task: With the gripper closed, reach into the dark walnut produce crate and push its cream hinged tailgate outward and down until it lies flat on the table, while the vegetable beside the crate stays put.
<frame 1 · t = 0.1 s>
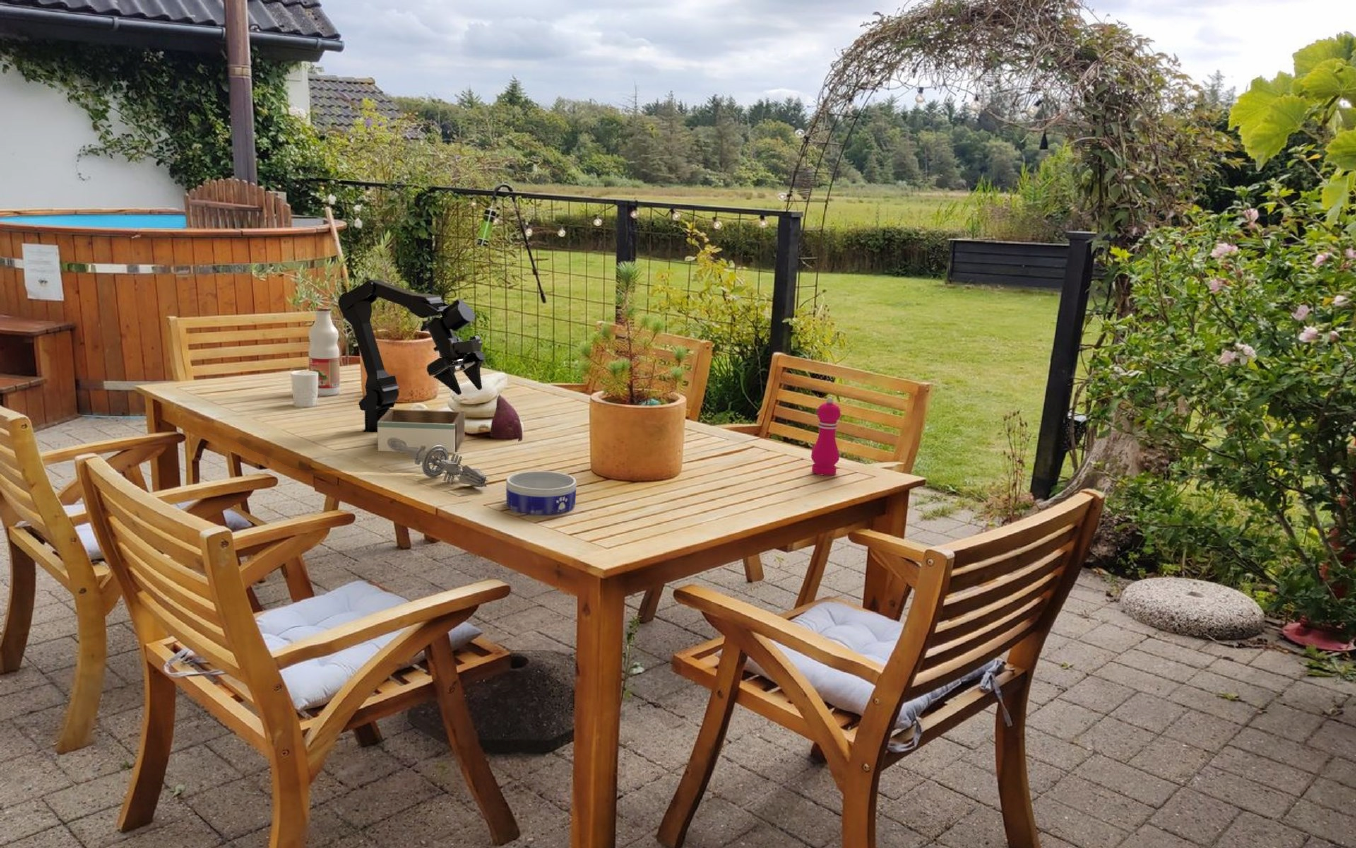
hand: (470, 391, 272), 15 cm above the table, fingers open, 9 cm apart
fruit juice: (325, 393, 334), on the table
tailgate: (416, 437, 263), point 4 cm above the table, hinge at 0.0°
crate: (422, 445, 273), on the table
white cup: (305, 405, 315), on the table
pepper mill: (823, 473, 267), on the table
spaceship: (434, 478, 245), on the table
vegetable: (506, 439, 287), on the table
dog bowl: (541, 506, 227), on the table
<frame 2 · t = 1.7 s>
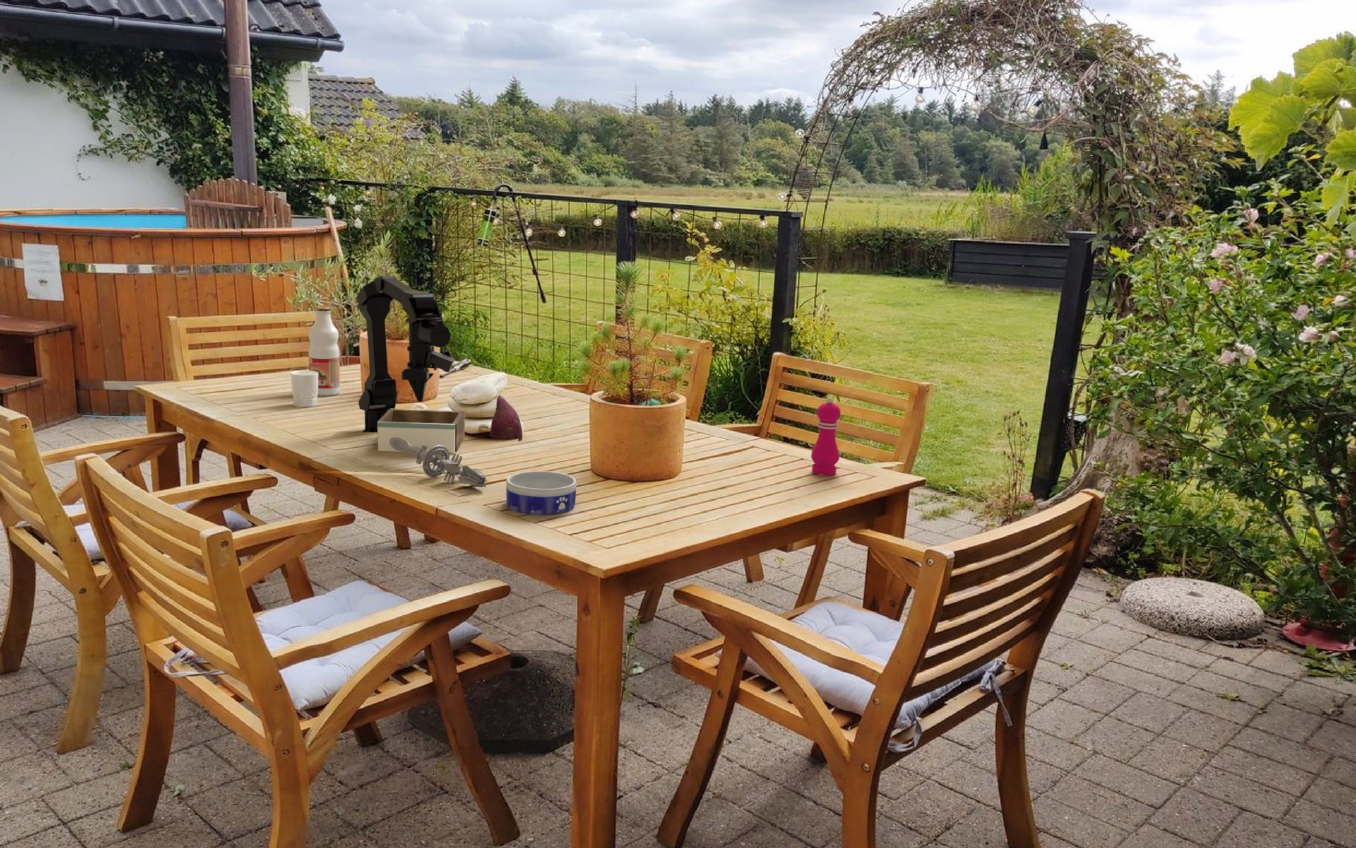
hand: (420, 401, 268), 13 cm above the table, fingers closed
nothing on the table moved.
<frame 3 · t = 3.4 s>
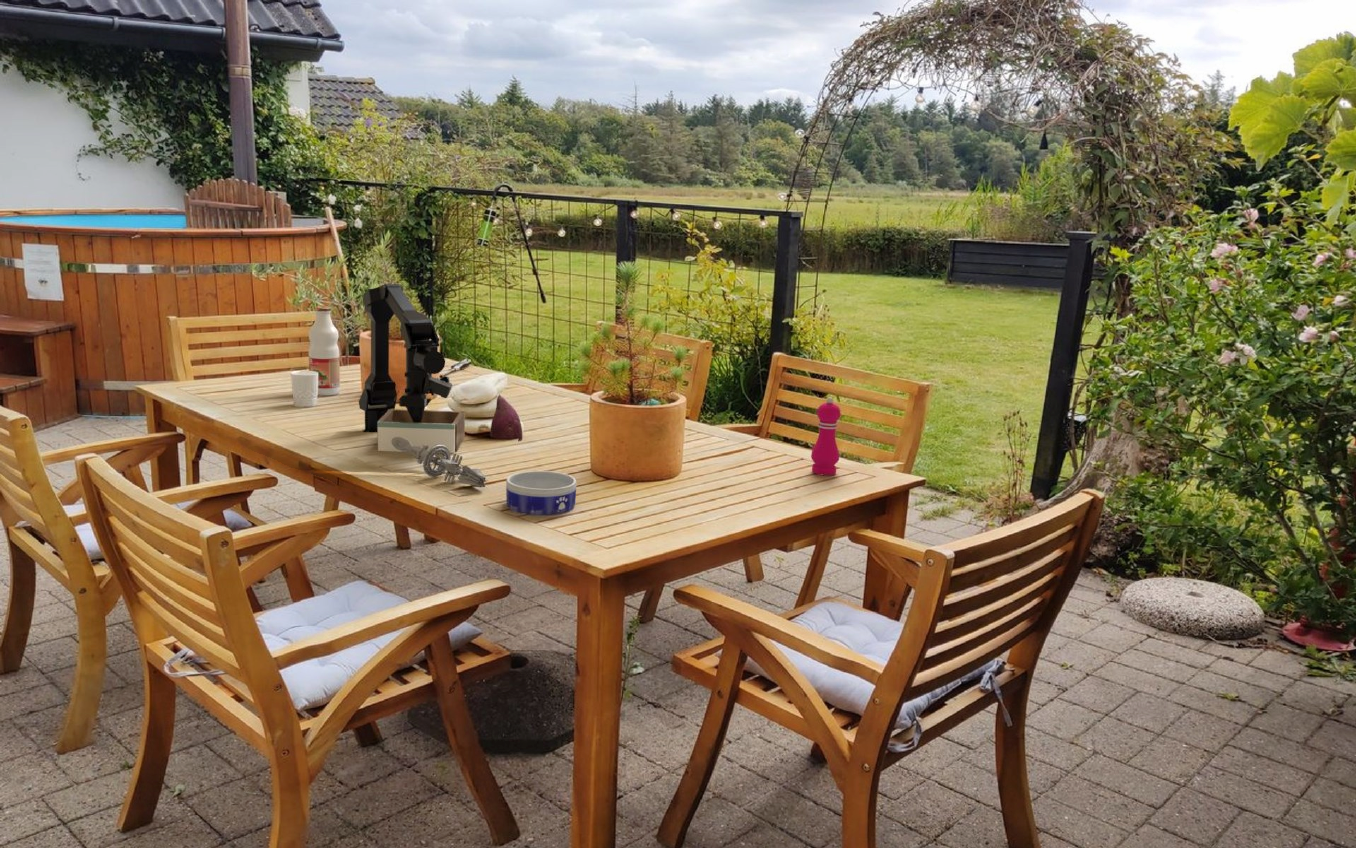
hand: (418, 427, 265), 7 cm above the table, fingers closed
tailgate: (416, 437, 263), point 4 cm above the table, hinge at 0.0°, touching gripper
everything else where it was.
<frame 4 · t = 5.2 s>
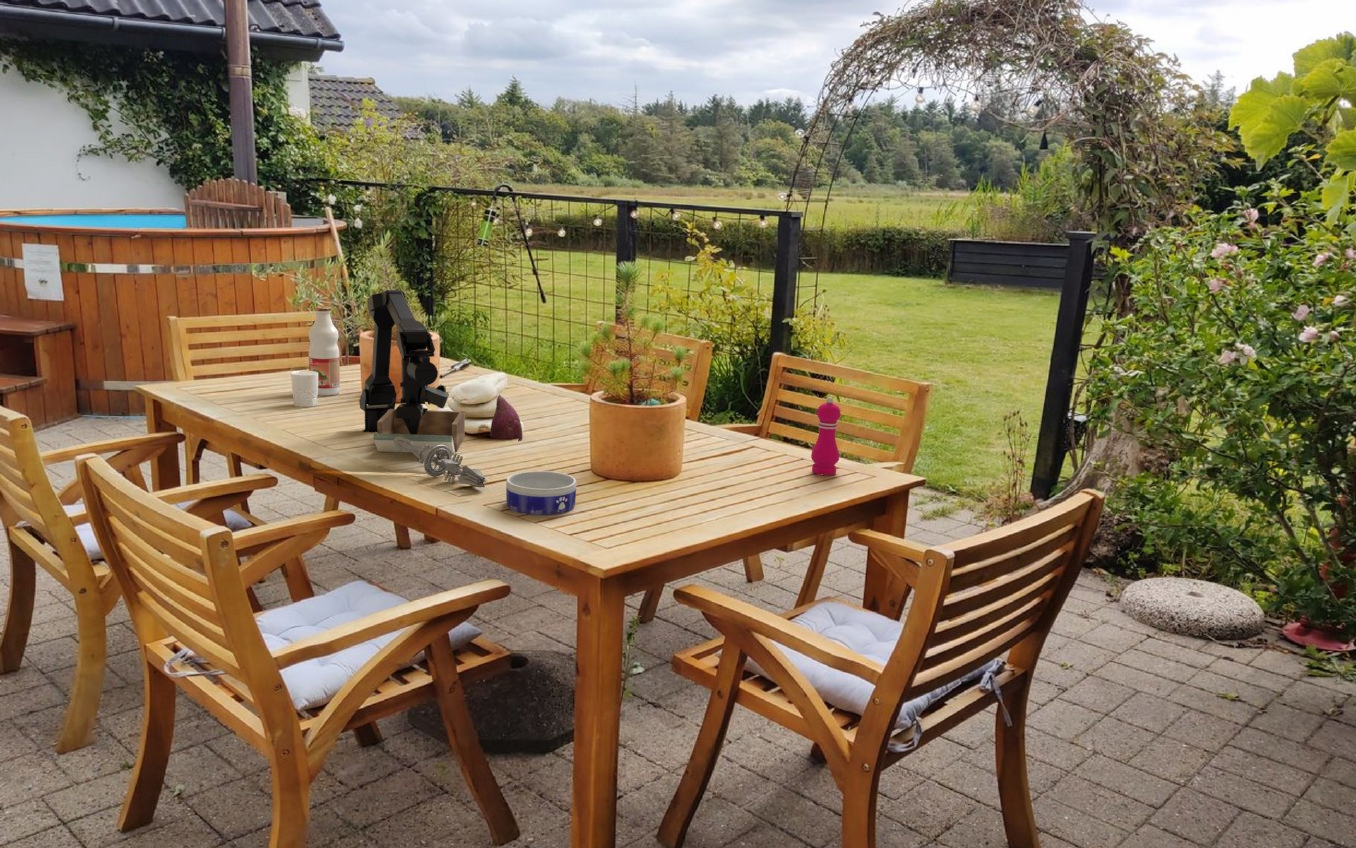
hand: (414, 437, 260), 5 cm above the table, fingers closed, pressing on tailgate
tailgate: (414, 444, 261), point 3 cm above the table, hinge at 45.6°, touching gripper
everything else where it was.
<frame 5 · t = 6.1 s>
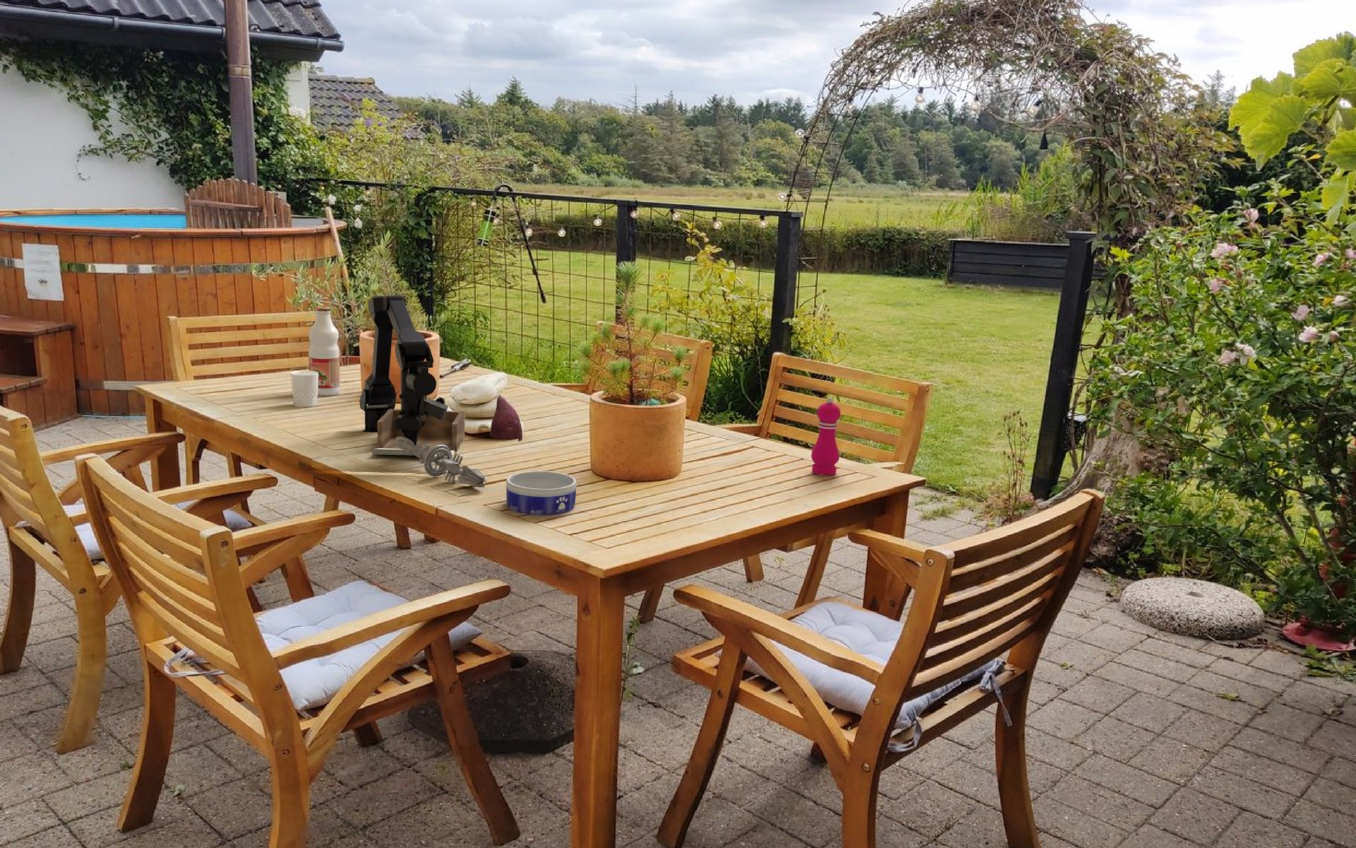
hand: (413, 450, 259), 2 cm above the table, fingers closed, pressing on tailgate
tailgate: (414, 452, 261), point 1 cm above the table, hinge at 78.1°, touching gripper
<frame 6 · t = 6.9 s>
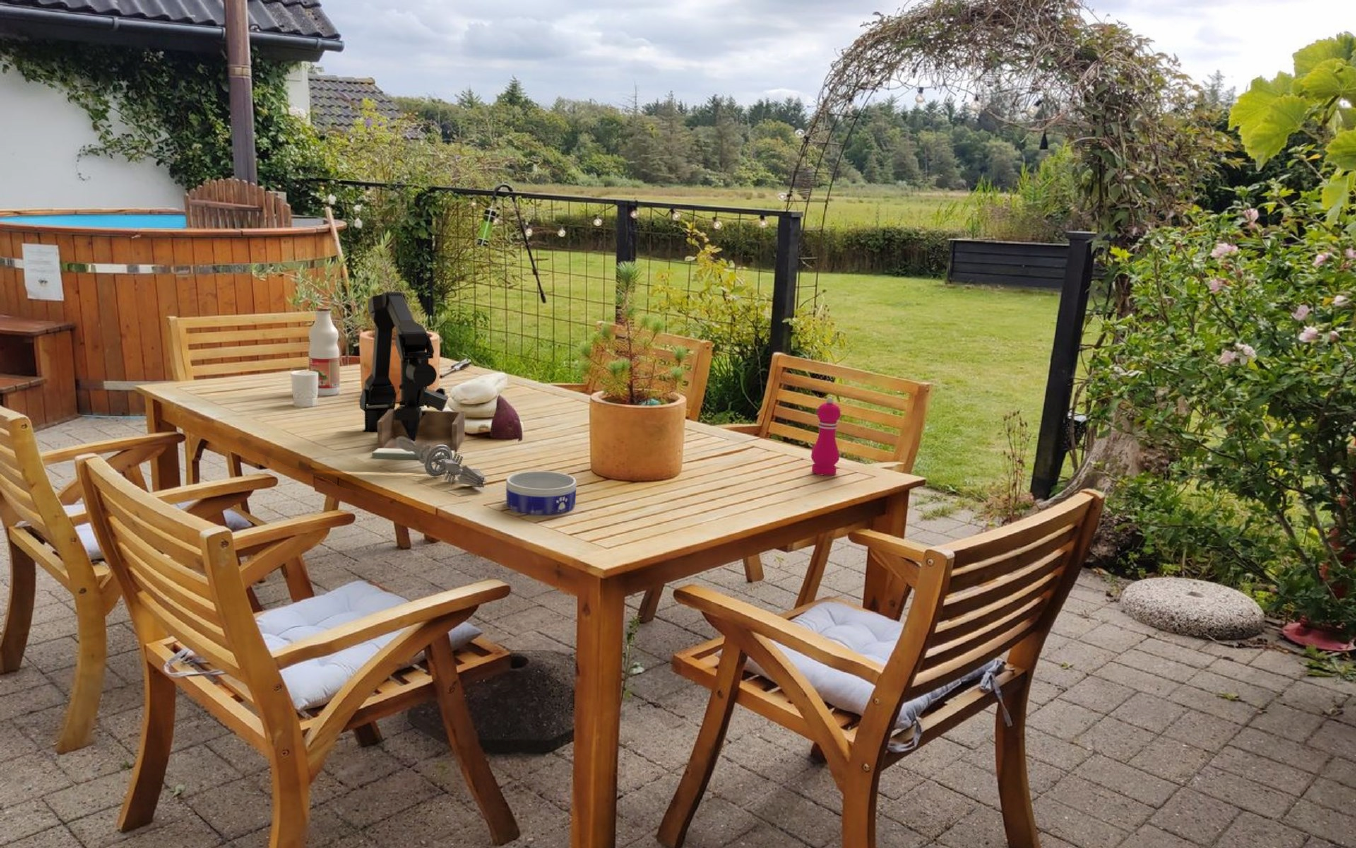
hand: (412, 441, 258), 5 cm above the table, fingers closed
tailgate: (414, 454, 261), point 1 cm above the table, hinge at 85.5°
everything else where it was.
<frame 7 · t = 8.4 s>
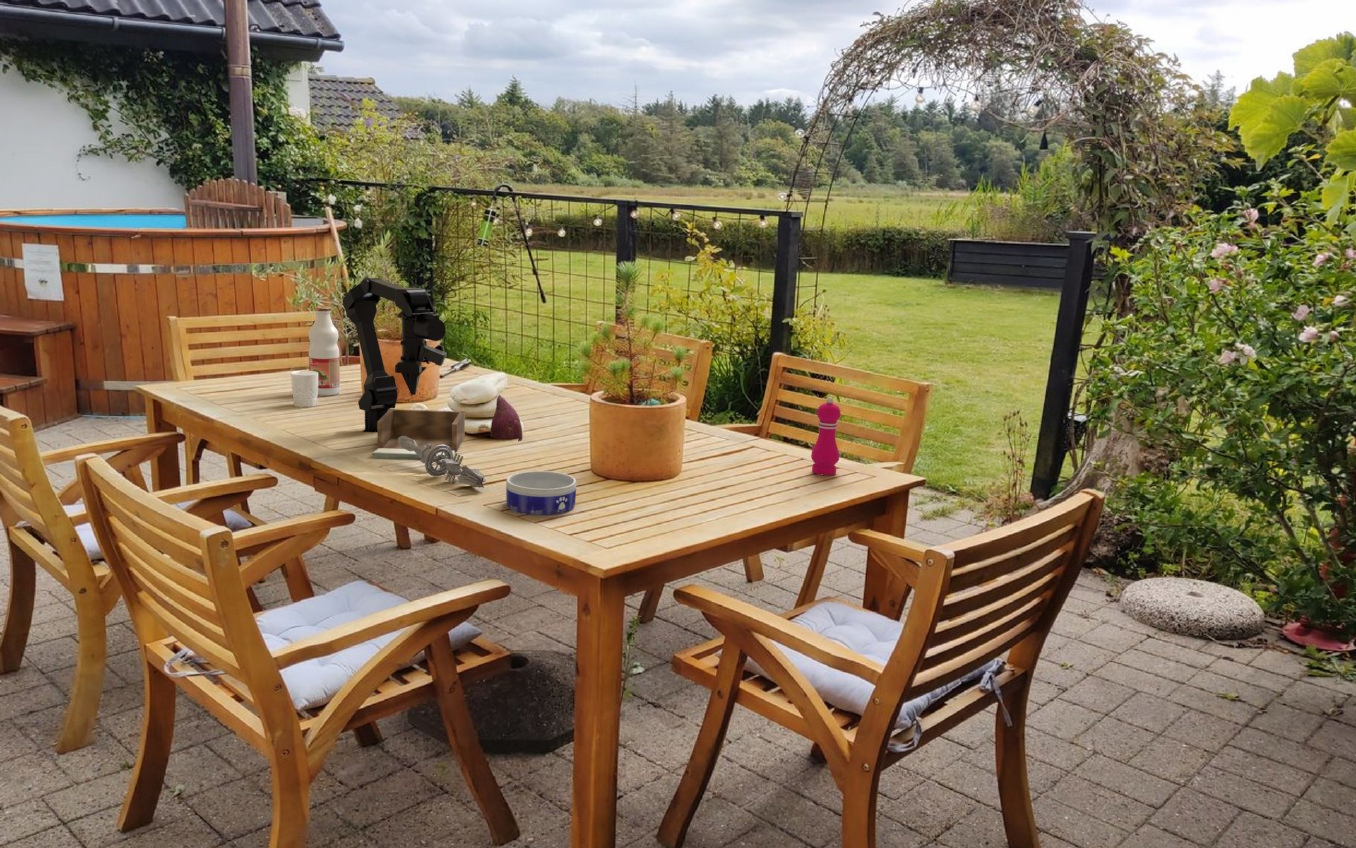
hand: (413, 394, 274), 13 cm above the table, fingers closed
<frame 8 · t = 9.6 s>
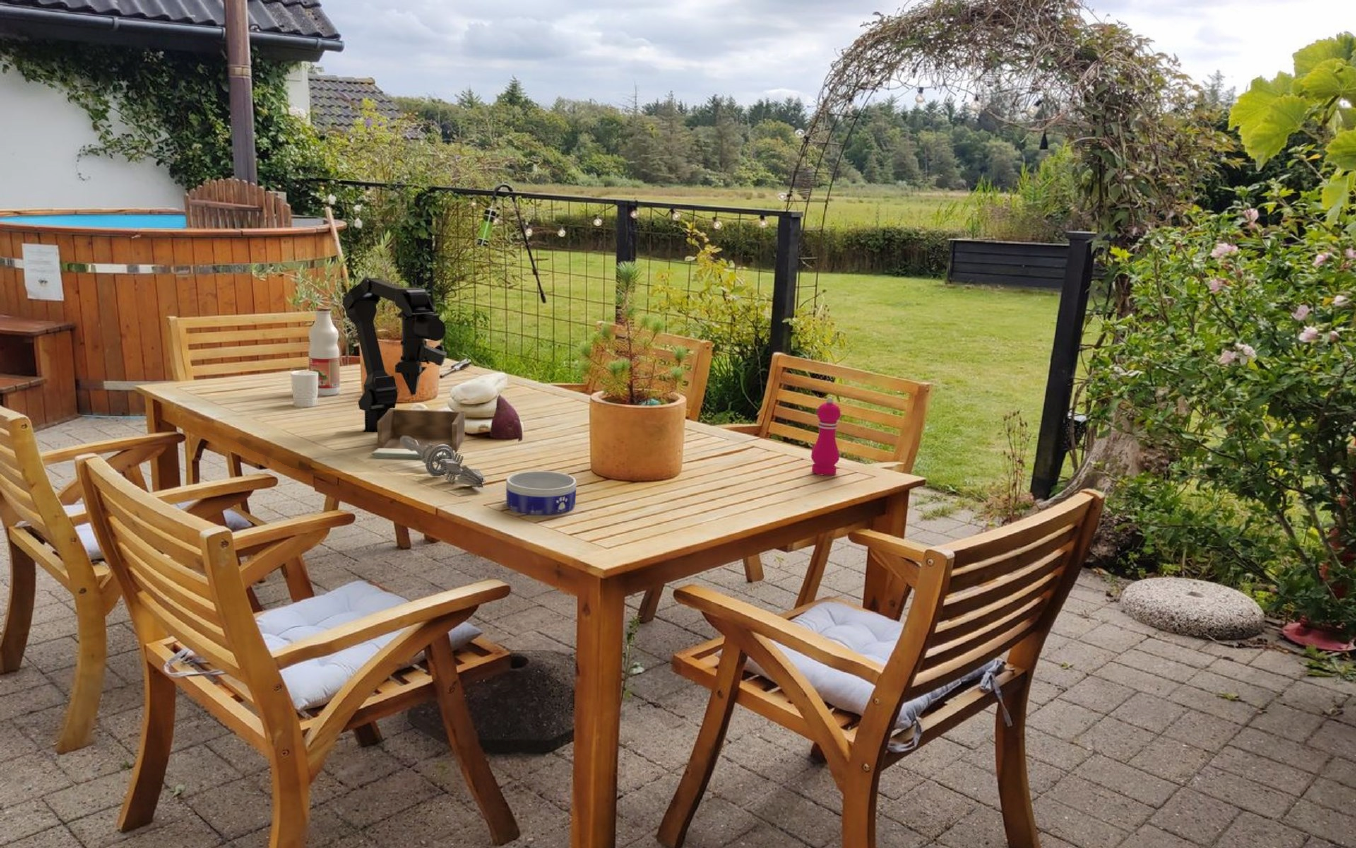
hand: (413, 394, 274), 13 cm above the table, fingers closed
at the end: tailgate at +86° (first picture: +0°); vegetable moved 0.3 cm from its start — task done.
